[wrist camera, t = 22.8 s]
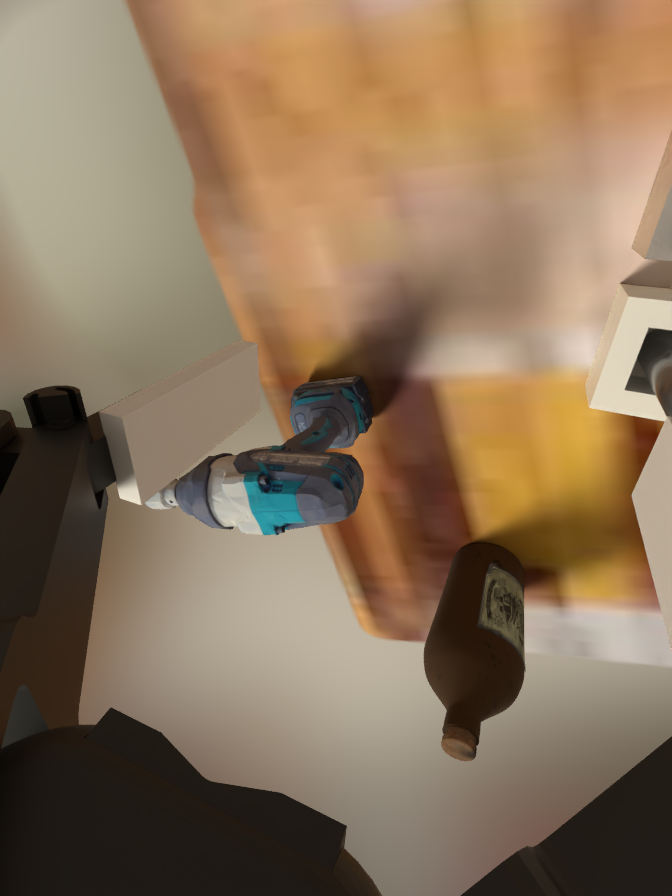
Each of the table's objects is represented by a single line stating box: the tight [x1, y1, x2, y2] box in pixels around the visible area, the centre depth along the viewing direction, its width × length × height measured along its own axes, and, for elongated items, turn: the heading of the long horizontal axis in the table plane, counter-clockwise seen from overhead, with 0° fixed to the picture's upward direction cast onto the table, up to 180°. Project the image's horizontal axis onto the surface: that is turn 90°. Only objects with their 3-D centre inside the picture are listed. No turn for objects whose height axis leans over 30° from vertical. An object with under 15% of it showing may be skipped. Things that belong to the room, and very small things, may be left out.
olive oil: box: [424, 543, 525, 761], centre depth 53 cm, size 11×11×25 cm
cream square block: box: [585, 284, 672, 421], centre depth 41 cm, size 10×10×6 cm
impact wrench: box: [145, 376, 374, 535], centre depth 50 cm, size 8×23×25 cm, turn 105°
